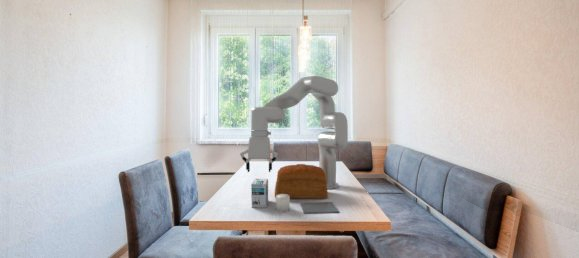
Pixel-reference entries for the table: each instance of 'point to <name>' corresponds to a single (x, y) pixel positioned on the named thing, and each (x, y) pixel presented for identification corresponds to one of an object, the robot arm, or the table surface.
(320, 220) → the table surface
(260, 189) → the light bulb box
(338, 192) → the table surface
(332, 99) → the robot arm
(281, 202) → the white capsule cylinder
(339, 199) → the table surface
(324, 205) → the slate trivet
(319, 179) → the bread
